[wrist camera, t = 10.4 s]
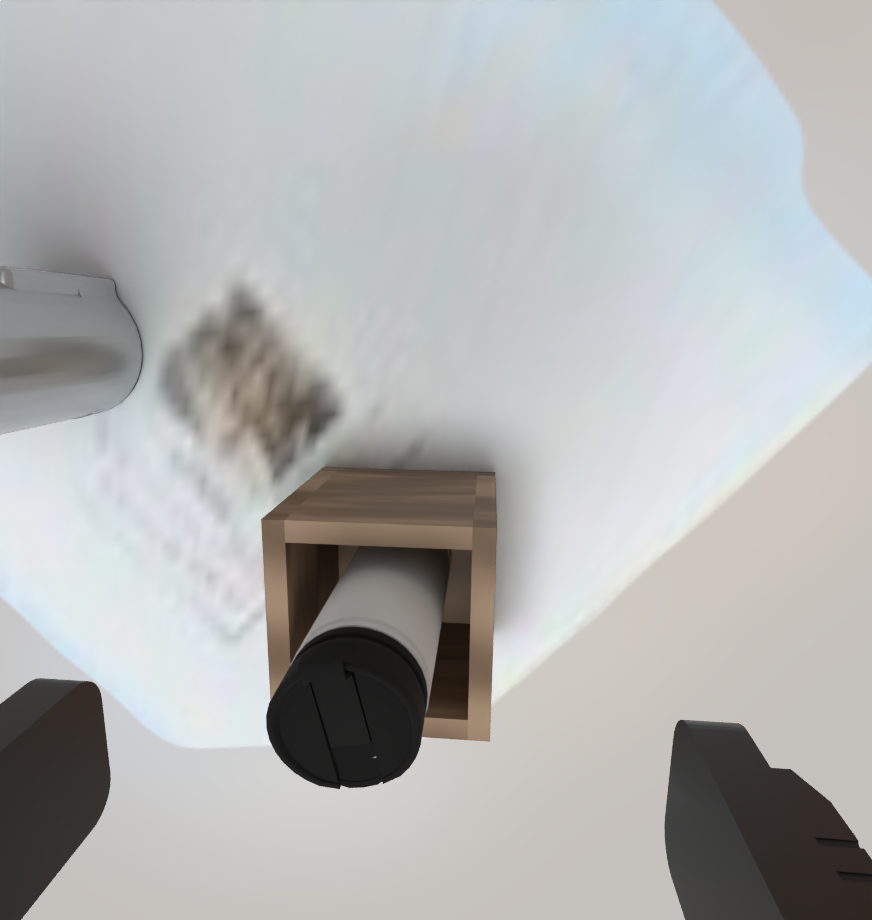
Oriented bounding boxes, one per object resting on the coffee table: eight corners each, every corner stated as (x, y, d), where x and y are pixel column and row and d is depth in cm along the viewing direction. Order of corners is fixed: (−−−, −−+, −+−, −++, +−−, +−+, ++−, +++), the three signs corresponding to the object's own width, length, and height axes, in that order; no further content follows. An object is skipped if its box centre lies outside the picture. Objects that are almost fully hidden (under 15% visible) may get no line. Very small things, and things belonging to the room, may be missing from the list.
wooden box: (323, 467, 43) (261, 519, 32) (495, 472, 42) (496, 528, 31) (327, 625, 46) (271, 727, 34) (490, 633, 45) (489, 741, 33)
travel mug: (441, 498, 42) (399, 647, 23) (460, 587, 43) (436, 802, 24) (352, 513, 43) (238, 671, 23) (373, 601, 44) (282, 819, 25)
